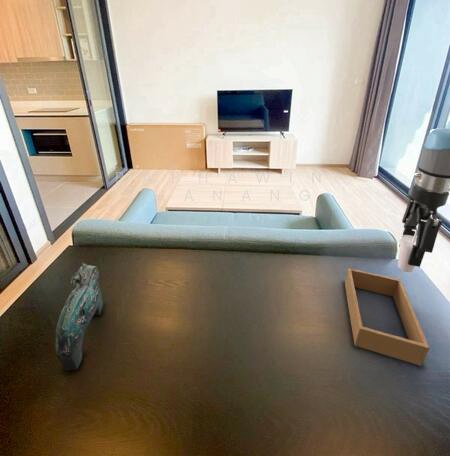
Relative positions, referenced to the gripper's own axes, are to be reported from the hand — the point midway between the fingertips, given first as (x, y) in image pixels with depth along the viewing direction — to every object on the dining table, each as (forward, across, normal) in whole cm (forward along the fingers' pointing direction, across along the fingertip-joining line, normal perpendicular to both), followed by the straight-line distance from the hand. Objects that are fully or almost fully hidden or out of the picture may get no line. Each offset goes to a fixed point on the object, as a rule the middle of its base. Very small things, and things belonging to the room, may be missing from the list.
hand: (408, 255), depth 73 cm
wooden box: (+19, +7, -7) cm, 22 cm away
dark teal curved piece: (+18, +37, -88) cm, 97 cm away
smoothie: (+5, 0, 0) cm, 5 cm away
